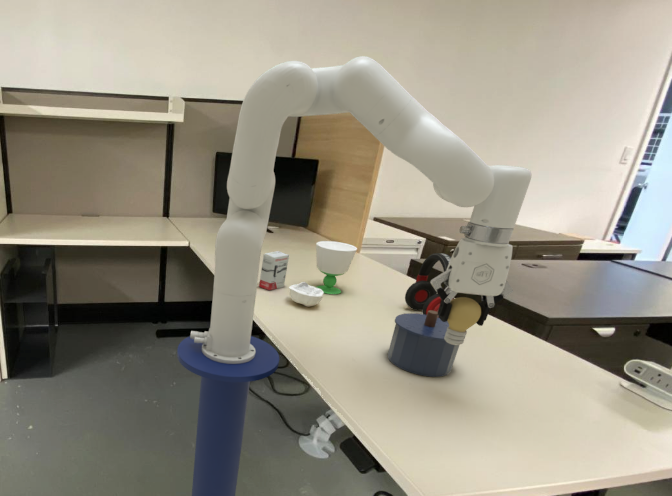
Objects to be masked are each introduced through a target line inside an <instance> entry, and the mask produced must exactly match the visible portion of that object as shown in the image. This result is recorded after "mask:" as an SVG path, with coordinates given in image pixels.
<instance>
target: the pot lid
mask: <svg viewBox="0 0 672 496" xmlns="http://www.w3.org/2000/svg"><path fill="white" fill-rule="evenodd" d="M394 323H395V325H396V324H397V325H398V326H399V327H400V328H402V329H403V330H405V331H407V332H409V333H412V334H415V335H418V336H421V337H425V338H429V339H434V340H442V341H445V339H444V337H445V333H446V331H447V327H449V323H448V321H446V322H443V321H442V320H441V319H440V318H438V312H436V311H433V310H429V311H428V313H427V315H424V314H423V313H412V312H411V313H410V312H407V313H400V314H397V315H396V316H395V317H394Z"/></svg>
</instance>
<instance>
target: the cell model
mask: <svg viewBox="0 0 672 496" xmlns="http://www.w3.org/2000/svg"><path fill="white" fill-rule="evenodd" d="M288 289H289V297H290V299H291V300H292V301H293V302H294V303H297V304H301V305H303V306H304V307H313V306H317V305H319V303H321V300H322V299H323V295H324V294H325V293H324V292H323V291H322V290H321V289H319V288H316V286H314V285H309V284H308V283H307V282H306V281H301V282H299V283H295V284H291V285H289V286H288Z"/></svg>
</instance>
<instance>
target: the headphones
mask: <svg viewBox="0 0 672 496" xmlns="http://www.w3.org/2000/svg"><path fill="white" fill-rule="evenodd" d="M451 257H452V255H449V254H446V253H438V252H436V253H432V254H430V255H429V256H427V257H426V258H425V259H424V261H423V262H422V264H421V266H420V268H419V271H418V274H417V276H416V278H415V279H416V280H415V282H414V283H412V284H411V285H409V287H408V288H407V290H406V292H405V294H404V302H405V303H406V305H407V307H408V308H409V309H411V310H414V311H422V314H424V315H427V313H428V311H429V310H433V311H436V312H438V309H439V306H440V303H441V298H440V297H439V295H438V294H437V292H436V291H435V289H434V288H433V286H432V285H431V283H430V281H428V278H429V274H430V273H431V271H432V269H433V268H434V266H435V265H436V264H437V263H438V262H439V263H440V264H441V266H442V269H443V272H445V271H446V270H447V267H448V265H449V262H450V259H451ZM446 287H447V285H445V284H444V283H443V290H445V289H446ZM453 299H455V297H454V298H453ZM453 299H452V300H453ZM438 318H439V317H438Z"/></svg>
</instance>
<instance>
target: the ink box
mask: <svg viewBox="0 0 672 496" xmlns="http://www.w3.org/2000/svg"><path fill="white" fill-rule="evenodd" d="M289 259H290V254H287V253H285V252H282V251H279V250H276V251H271V252H265V253H263V256H262V264H261V270H260V276H259V283H258V287H259V288H261V289H264V290H267V291H274V290H277V289H280V288H284V287H285V282H286V277H287V271H288V264H289Z"/></svg>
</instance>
